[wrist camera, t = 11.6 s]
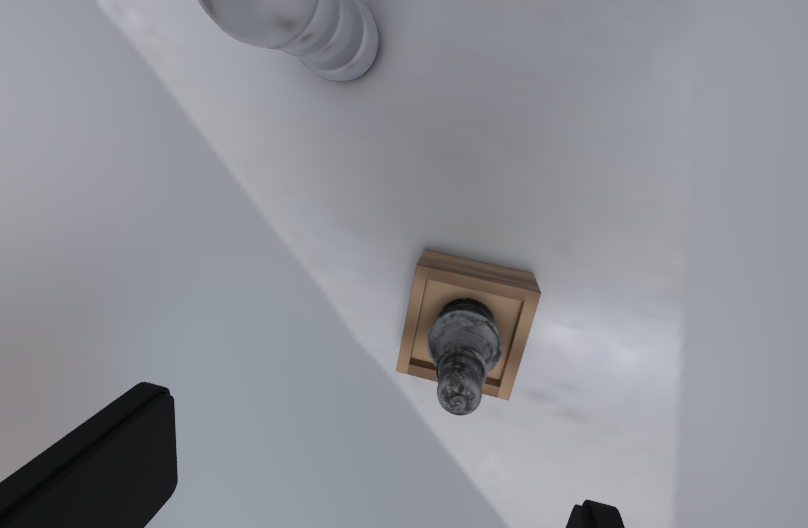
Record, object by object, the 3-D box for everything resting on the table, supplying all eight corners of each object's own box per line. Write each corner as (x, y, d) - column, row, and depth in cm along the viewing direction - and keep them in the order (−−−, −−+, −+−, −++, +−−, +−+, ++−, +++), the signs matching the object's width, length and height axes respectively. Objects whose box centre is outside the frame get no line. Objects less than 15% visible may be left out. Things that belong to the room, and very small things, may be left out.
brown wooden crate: (425, 249, 39) (416, 264, 34) (533, 273, 37) (541, 293, 32) (405, 344, 42) (395, 371, 37) (505, 369, 40) (508, 400, 35)
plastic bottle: (363, 99, 36) (232, 49, 17) (296, 61, 36) (91, -31, 17) (398, 24, 34) (292, -128, 15) (326, -16, 34) (131, -217, 15)
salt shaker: (505, 300, 34) (516, 376, 23) (495, 363, 36) (500, 462, 25) (435, 289, 35) (412, 358, 24) (427, 351, 37) (403, 443, 26)
